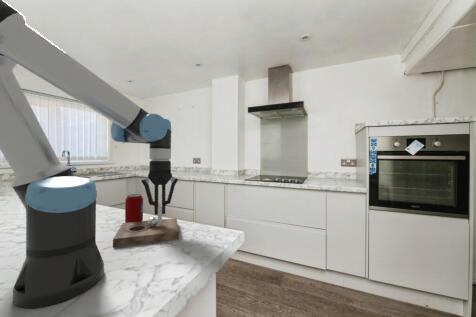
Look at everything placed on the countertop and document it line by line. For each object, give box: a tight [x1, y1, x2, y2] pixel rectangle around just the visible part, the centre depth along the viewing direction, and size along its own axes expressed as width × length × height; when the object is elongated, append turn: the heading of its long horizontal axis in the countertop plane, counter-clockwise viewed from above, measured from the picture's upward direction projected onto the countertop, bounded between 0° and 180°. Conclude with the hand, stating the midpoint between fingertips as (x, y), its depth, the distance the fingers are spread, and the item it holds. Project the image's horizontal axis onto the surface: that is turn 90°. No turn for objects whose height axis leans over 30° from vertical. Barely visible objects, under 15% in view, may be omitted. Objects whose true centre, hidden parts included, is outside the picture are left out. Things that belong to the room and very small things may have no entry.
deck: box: [112, 217, 180, 248], centre depth 74 cm, size 20×16×2 cm
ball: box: [147, 216, 158, 227], centre depth 74 cm, size 4×4×4 cm
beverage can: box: [124, 193, 144, 223], centre depth 85 cm, size 7×7×12 cm
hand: (159, 222), depth 75 cm, fingers closed
